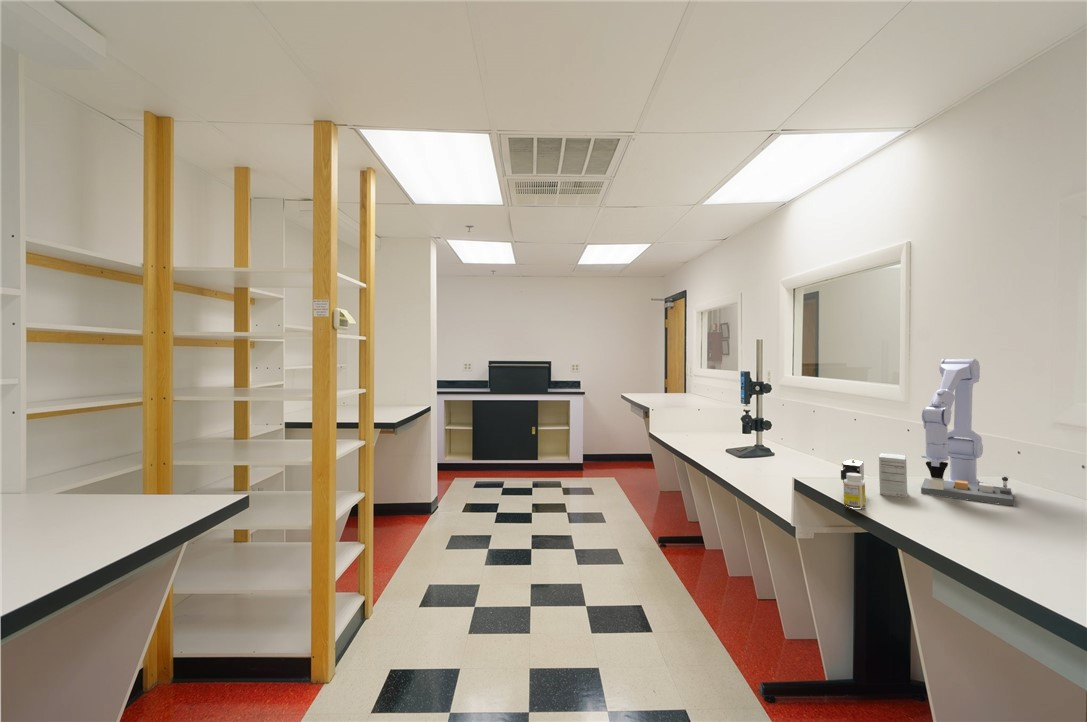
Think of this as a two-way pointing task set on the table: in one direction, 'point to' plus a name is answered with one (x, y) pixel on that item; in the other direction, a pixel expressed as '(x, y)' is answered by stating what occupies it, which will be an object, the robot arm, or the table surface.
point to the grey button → (986, 487)
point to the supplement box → (893, 474)
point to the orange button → (961, 484)
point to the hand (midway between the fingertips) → (937, 484)
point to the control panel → (970, 493)
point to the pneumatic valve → (852, 468)
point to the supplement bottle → (854, 491)
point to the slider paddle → (936, 483)
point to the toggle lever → (1005, 481)
